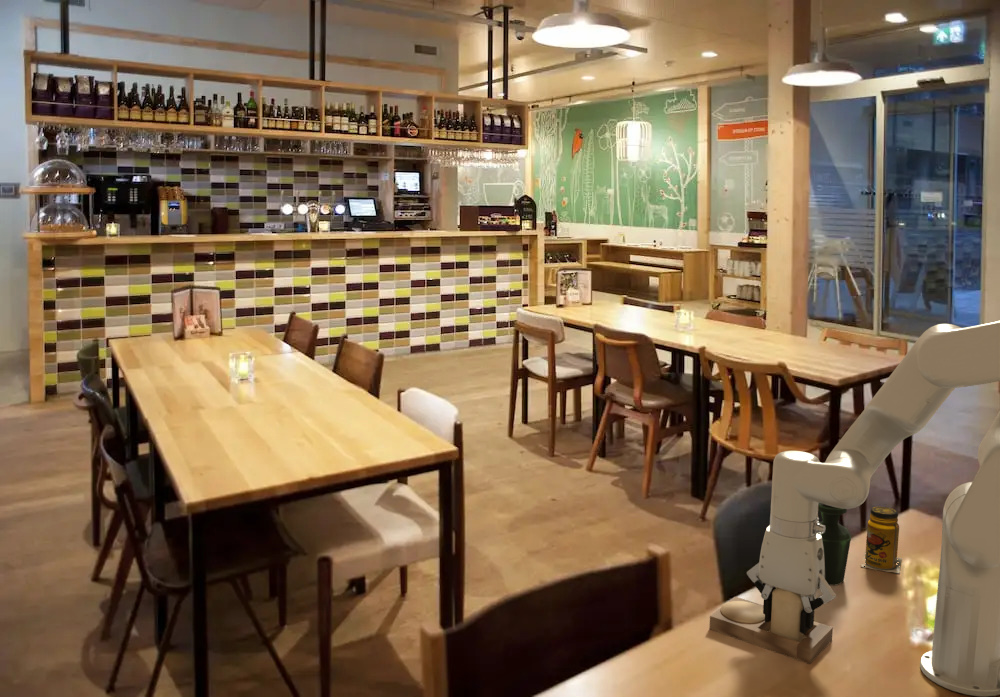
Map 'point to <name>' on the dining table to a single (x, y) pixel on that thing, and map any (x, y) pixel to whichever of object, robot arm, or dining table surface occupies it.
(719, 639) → the dining table surface
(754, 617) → the wooden holder tray
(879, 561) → the condiment
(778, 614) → the candle
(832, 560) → the potion bottle
